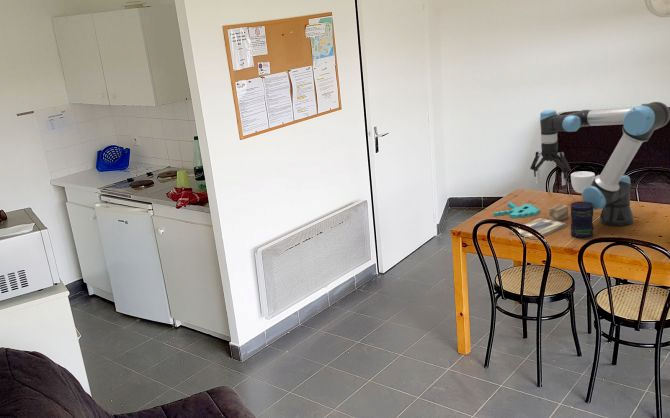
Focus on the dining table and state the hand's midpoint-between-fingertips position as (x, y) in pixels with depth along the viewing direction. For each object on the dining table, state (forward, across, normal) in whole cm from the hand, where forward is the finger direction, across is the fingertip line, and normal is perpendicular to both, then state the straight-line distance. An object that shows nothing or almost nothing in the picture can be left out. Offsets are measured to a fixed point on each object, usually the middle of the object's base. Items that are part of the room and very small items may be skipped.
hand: (550, 184), depth 329 cm
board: (+18, -2, +19) cm, 26 cm away
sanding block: (+18, -3, 0) cm, 18 cm away
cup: (+18, -5, -26) cm, 32 cm away
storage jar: (+19, -23, +18) cm, 34 cm away
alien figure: (+18, +19, -2) cm, 27 cm away
